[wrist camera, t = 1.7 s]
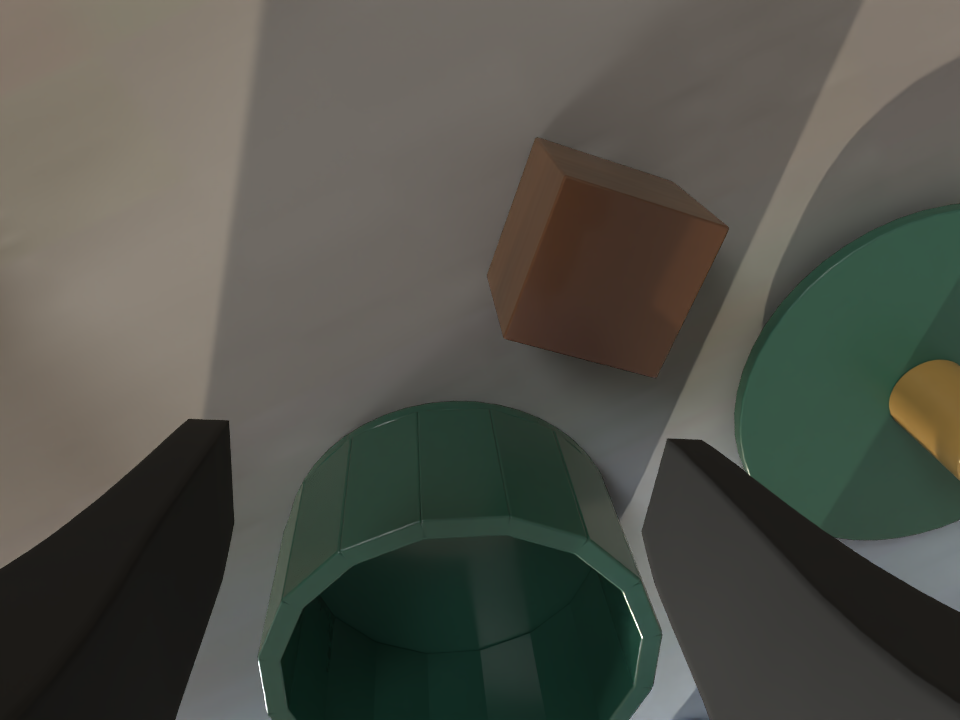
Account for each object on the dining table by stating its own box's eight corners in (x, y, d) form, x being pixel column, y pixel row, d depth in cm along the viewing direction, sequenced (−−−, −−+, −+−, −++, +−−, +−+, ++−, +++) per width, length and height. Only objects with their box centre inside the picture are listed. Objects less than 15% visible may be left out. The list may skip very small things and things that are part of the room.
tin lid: (1167, 279, 23) (1322, 343, 19) (928, 553, 28) (1014, 650, 24) (873, 130, 20) (985, 171, 16) (660, 466, 25) (707, 560, 21)
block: (673, 181, 20) (730, 227, 17) (615, 312, 22) (656, 379, 18) (535, 136, 19) (565, 174, 16) (486, 276, 21) (502, 339, 17)
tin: (668, 458, 24) (734, 580, 20) (529, 676, 29) (554, 821, 24) (351, 354, 22) (336, 466, 17) (249, 613, 26) (213, 762, 21)
